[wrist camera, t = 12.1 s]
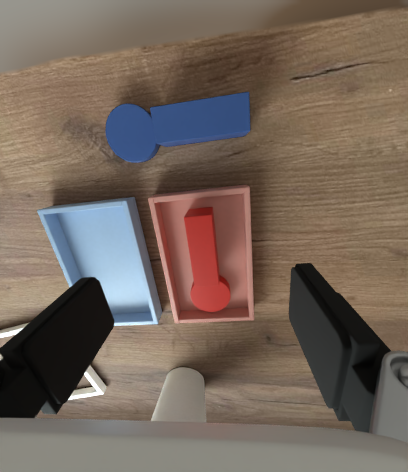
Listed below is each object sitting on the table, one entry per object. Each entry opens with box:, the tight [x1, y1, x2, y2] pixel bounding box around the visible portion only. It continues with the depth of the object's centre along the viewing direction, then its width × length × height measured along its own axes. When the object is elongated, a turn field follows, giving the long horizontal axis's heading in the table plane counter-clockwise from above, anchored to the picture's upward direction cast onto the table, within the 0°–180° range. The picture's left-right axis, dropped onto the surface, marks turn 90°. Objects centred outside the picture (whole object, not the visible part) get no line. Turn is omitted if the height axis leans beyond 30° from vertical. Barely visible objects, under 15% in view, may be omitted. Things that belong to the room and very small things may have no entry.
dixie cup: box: [151, 367, 206, 423], centre depth 24 cm, size 8×8×10 cm
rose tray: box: [148, 185, 254, 323], centre depth 20 cm, size 9×14×2 cm, turn 7°
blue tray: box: [37, 197, 162, 326], centre depth 21 cm, size 9×14×2 cm, turn 7°
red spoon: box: [184, 207, 231, 312], centre depth 19 cm, size 12×4×3 cm, turn 7°
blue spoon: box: [106, 92, 250, 162], centre depth 15 cm, size 12×4×3 cm, turn 97°
